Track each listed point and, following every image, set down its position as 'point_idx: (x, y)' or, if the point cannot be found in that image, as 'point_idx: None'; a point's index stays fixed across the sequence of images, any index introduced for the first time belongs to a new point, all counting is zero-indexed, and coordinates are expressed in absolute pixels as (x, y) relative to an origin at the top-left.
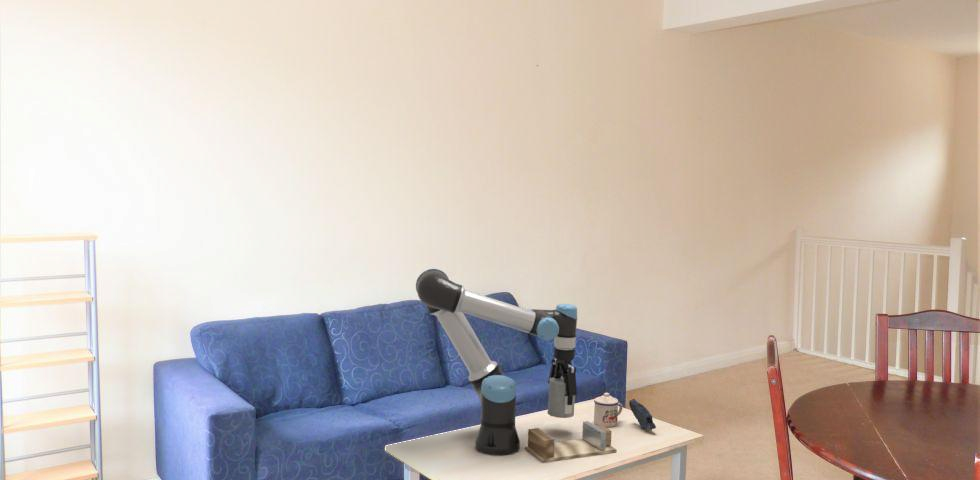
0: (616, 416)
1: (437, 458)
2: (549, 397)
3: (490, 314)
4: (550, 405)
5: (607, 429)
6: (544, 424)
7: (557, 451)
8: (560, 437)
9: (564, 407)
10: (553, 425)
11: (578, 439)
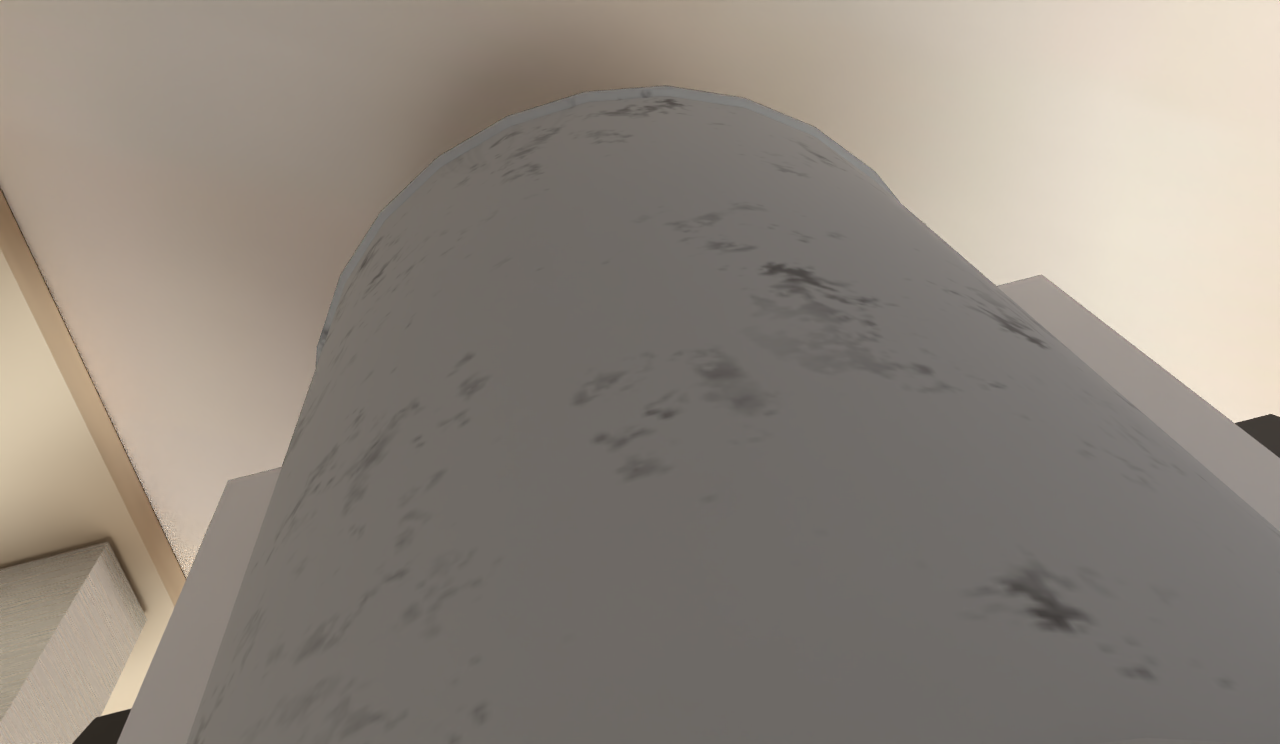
0: None
1: None
2: (671, 241)
3: None
4: (532, 188)
5: None
6: (1086, 99)
7: None
8: (374, 219)
9: (234, 564)
10: (997, 244)
11: (104, 475)
